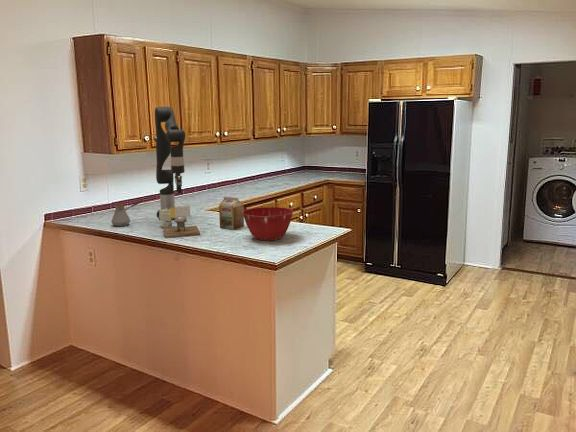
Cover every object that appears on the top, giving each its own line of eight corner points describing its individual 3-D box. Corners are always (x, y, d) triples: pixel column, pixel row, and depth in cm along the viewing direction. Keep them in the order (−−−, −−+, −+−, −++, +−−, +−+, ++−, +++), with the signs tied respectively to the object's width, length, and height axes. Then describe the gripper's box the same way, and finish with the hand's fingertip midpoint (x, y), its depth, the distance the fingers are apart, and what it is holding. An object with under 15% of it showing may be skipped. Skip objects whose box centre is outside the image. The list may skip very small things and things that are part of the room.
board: (163, 230, 306) (162, 220, 304) (196, 228, 311) (196, 217, 310) (165, 238, 287) (164, 227, 286) (200, 235, 292) (199, 224, 291)
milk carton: (244, 226, 313) (243, 196, 309) (233, 230, 304) (232, 199, 300) (230, 225, 318) (229, 195, 314) (219, 228, 309) (218, 197, 306)
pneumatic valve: (160, 225, 319) (159, 207, 316) (178, 226, 316) (176, 207, 314) (156, 227, 313) (155, 208, 311) (174, 228, 311) (173, 209, 309)
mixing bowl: (243, 232, 298) (242, 206, 295) (291, 231, 300) (291, 205, 297) (242, 245, 271) (241, 216, 267) (295, 243, 272) (295, 215, 269)
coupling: (170, 221, 299) (169, 206, 298) (189, 219, 302) (188, 205, 301) (171, 223, 293) (170, 208, 291) (190, 222, 296) (190, 207, 294)
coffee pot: (113, 228, 314) (111, 204, 311) (110, 224, 323) (108, 201, 320) (148, 224, 324) (146, 201, 321) (143, 220, 334) (142, 198, 331)
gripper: (170, 163, 296) (171, 191, 300) (171, 166, 283) (173, 194, 286) (183, 163, 299) (184, 190, 302) (185, 165, 285) (186, 193, 288)
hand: (179, 192), depth 294 cm, fingers open, 8 cm apart
